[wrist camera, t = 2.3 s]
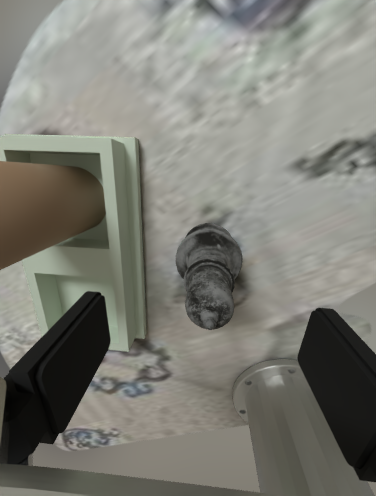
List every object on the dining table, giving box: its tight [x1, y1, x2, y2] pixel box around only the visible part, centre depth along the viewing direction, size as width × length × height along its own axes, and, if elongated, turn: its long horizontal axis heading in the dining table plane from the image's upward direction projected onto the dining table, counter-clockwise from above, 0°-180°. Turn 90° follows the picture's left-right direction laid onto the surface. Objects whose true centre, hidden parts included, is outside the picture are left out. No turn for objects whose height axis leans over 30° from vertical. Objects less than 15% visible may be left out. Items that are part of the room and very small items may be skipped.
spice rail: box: [0, 134, 147, 352], centre depth 16 cm, size 22×12×13 cm, turn 178°
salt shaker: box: [176, 223, 242, 330], centre depth 16 cm, size 6×6×12 cm
